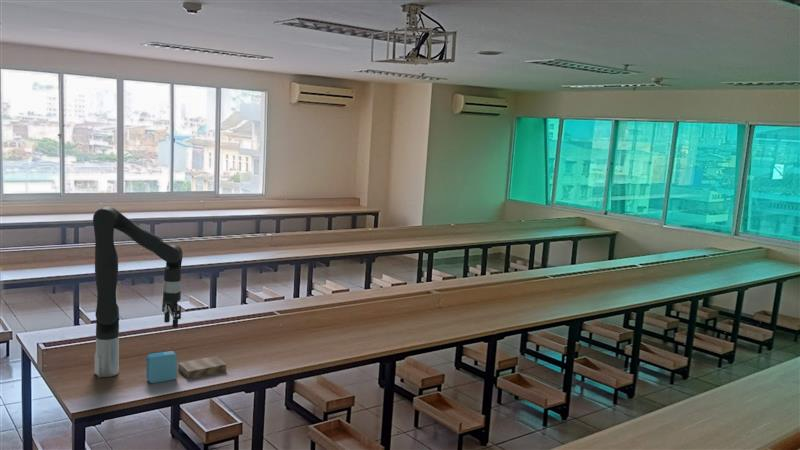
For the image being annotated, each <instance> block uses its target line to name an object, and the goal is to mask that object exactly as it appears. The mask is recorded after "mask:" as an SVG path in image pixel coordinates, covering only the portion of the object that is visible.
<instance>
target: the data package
mask: <svg viewBox="0 0 800 450" xmlns="http://www.w3.org/2000/svg"><path fill="white" fill-rule="evenodd" d="M177 376H178V355H177V354H176V353H175V351H173V350H170V351H161V352H155V353H149V354H148V355H147V357H146V379H147V381H148V382H149V383H150V384H155V383H160V382H161V383H162V382H166V381H167V382H168V381H174V380H176V378H178V377H177Z"/></svg>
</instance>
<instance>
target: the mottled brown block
mask: <svg viewBox="0 0 800 450" xmlns="http://www.w3.org/2000/svg"><path fill="white" fill-rule="evenodd" d="M177 371H178V372H180V373H181V374H182V375H183V376H184V377H185V378H186V379H187V380H191V379H195V377H196V378H199V377H205V376H210V375H211V376H212V375H216V374H221V373H225V372H227V364H226V363H225V362H224V361H223V360H221V359H220V358H219V357H217V356H216V355H214V356H210V357H204V358H203V357H202V358H196V359H191V360H186V361H181V362H177Z"/></svg>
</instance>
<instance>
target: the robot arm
mask: <svg viewBox="0 0 800 450" xmlns="http://www.w3.org/2000/svg"><path fill="white" fill-rule="evenodd" d="M92 223H93V232H94V237H95V238H94V239H95V240H94V242H95V244H94V273H95V285H96V286H95V287H96V293H97V295H96V297H97V299H96V308H95V318H96V319H95V322H96V323H95V324H96V325H95V326H96V327H95V328H96V329H95V352H94V374H95V375H96V376H97V378H110V377H114V376H116V375H118V374H119V373H120V372H119V371H120V369H119V368H120V367H119V366H120V364H119V361H120V360H119V359H120V358H119V356H120V354H119V352H120V351H119V350H120V349H119V347H120V345H119V343H120V342H119V341H120V337H119V335H120V308H119V307H120V306H119V305H118V303H117V295H116V294H117V286H118V277H119V256H118V251H117V249H116V246H115V242H114V232H115V230H116V231H117V230H118V231H119V232H121V233H123V234H125V236H128V237H129V238H130V239H132V240H133V241H134V242H135V243H136V244H138V245H140V247H143V248H145V249H146V250H148V251H150V252H152V253H154V254H155V255H156V256H158V257H159V258H160V259H162V260H163V261H165V268H164V272H163V285H162V286H163V287H162V303H161V304H162V305H161V312H162V313H163V314H164V319H163V321H164V323H170V321H171V319H170V318H172V328H173V329H176V328H178V327H179V320H181V319H182V307H181V305H178V303H179V302H180V301H181V298H182V283H181V282H182V281H181V280H182V276H181V275H182V263H183V255H184V254H183V250H182V249H183V248H182V247H180V246H179V245H178V244H172V245H170V244H169V243H166V242H165V241H164V240H163V238H161V237H160V236H158V235H156V234H155V233H153V232H150V231H149V230H147V229H146V228H143V227H142V226H140V225H138V224H137V223H135V222H133V221H132V220H131V219H129V218H127V217H126V216H125V215H124V214H122V213H121V212H120V211H118V209H116V208H114V207H113V206H103V207H100V208H99V209H97V210H96V211H95V212H94V214H93V216H92Z"/></svg>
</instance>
